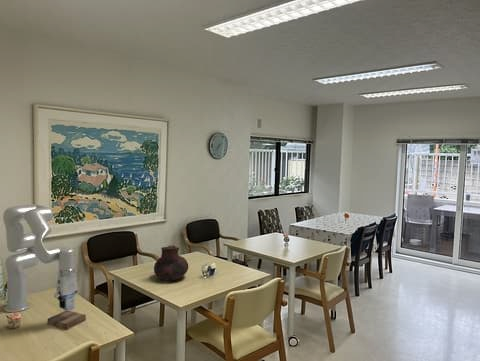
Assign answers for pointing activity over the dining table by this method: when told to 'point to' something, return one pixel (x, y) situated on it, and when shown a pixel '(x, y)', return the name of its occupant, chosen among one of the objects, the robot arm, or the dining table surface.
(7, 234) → the robot arm
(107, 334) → the dining table surface
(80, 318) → the walnut stand
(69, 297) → the medicine box
